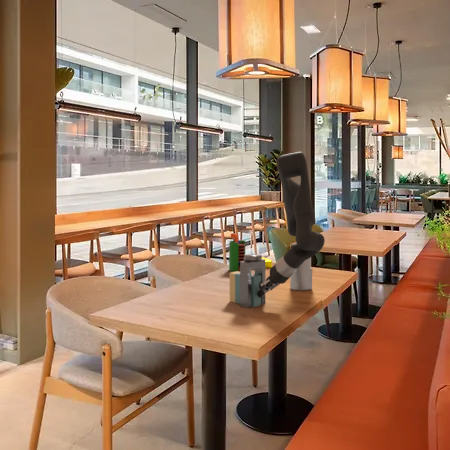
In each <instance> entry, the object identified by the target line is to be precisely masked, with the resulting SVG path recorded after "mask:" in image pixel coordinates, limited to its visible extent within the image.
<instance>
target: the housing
mask: <svg viewBox="0 0 450 450" xmlns="http://www.w3.org/2000/svg"><path fill="white" fill-rule="evenodd" d="M262 257H263V256H262V254H258V253H257V254H255V253H250V254H248V253H247V254H245V255H244V261H242V262H240V271H239V272H240V308H246V309H249V308H252V306H251V274H252V271H253V270H254V274H256V275H261V281H262V282H265V280H266V268H265V259H262ZM263 304H266V293H265V294H264V296H263V297H261V305H263Z"/></svg>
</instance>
